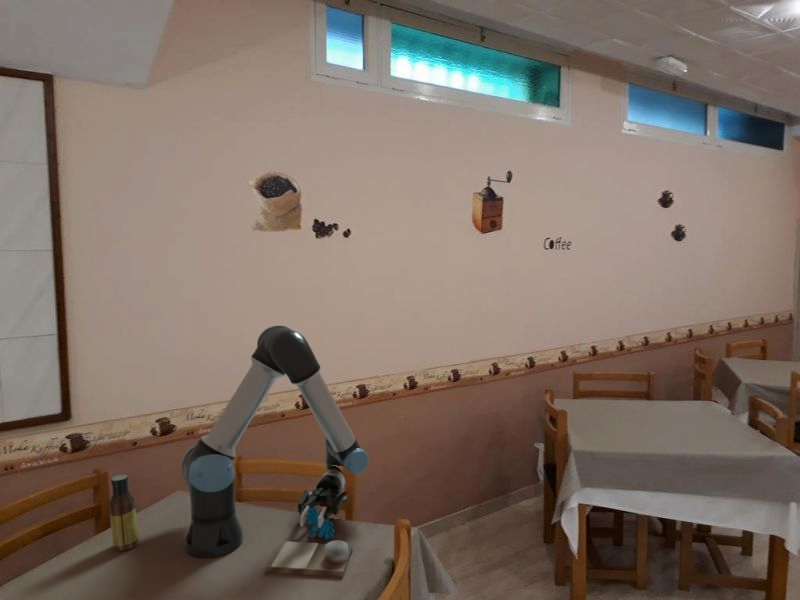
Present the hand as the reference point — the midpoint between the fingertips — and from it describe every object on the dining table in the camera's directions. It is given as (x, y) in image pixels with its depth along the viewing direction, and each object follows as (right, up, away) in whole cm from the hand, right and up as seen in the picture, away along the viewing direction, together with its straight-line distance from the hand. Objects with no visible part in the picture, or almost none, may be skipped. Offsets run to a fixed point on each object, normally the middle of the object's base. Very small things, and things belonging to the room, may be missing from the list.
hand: (310, 522), depth 153 cm
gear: (+2, -6, +6) cm, 9 cm away
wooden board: (+1, -7, -7) cm, 10 cm away
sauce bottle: (-51, -7, +1) cm, 52 cm away
